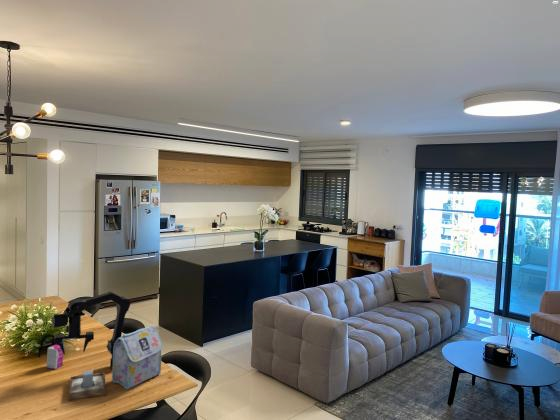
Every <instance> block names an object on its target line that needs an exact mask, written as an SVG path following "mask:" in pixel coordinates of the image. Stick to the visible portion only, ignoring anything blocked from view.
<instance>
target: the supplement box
mask: <svg viewBox="0 0 560 420" xmlns="http://www.w3.org/2000/svg"><path fill="white" fill-rule="evenodd" d="M46 354H47V355H46V369H49V370H54V371H55V370H57V369H58V368H61V367H62V366H64V365H63V363H64V354H63V351H62V349H61V347H60V346H59V345H57V344H54V345H51V346H49V347H48V348H47V353H46Z"/></svg>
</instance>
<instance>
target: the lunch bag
mask: <svg viewBox="0 0 560 420" xmlns="http://www.w3.org/2000/svg"><path fill="white" fill-rule="evenodd" d="M162 349H163V342H162V339H161V337H160V335H159V333H158V329H157V327H156V326H155V325H152V326H148V327H146V326H145V327H143V328H139V329H137V330H136V331H133V332H130V333H129V332H128V333H122V335H121V337H120V338H118V339H117V340H116V342H115V343H114V348H113V367H112V369H111V371H112V372H111V373H112V374H111V377H112V380H111V381H112V383H116V384H120V385H121V387H123V388H124V389H126V390H129V389H131V388H134V387H135V386H137V385H139V384H141V383H143V382H146V381H147V380H149V379H152V378H154V377H156V376H158V375H161V372H162Z"/></svg>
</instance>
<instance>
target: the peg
mask: <svg viewBox="0 0 560 420" xmlns="http://www.w3.org/2000/svg"><path fill="white" fill-rule="evenodd" d="M93 374H94V370H93V369H91V370H85V371H82V375H83V388H86V387H93Z"/></svg>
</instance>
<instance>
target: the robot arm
mask: <svg viewBox="0 0 560 420" xmlns="http://www.w3.org/2000/svg"><path fill="white" fill-rule="evenodd" d="M108 301H112V302H114V303H115V305H116V306H115V307H116V317H115V322H114V327H113V332H112V336H111V339H109V340H108V339H107V345H106V349H107V351H108V352H109V354H110V355H111V358H110V366H109V367H110V369H111V370H112V367H113V348H114V343H115V342H116V340H117V339H118V338H120V337H122V336H123V329H124V323H125V319H126V314H127V313H128V311H129V309H130V306H131V301H130V300H129V299H128V298H127V297H126V296H124V295H123V296H120V295H118V294H116V293H115V292H113V291H108V292H106V293H101V294H98V295H94V296H91V297H88V298H77V299H71V300H70V301H69V303H68V304H67V307H66V308H65V309H64V311H63V313H54V314H53V316H52V319H51V326H52V328H53V329H57V328H63V327H65V332H66V333H67V335H64V334H62V333H61V334H55V336H54V338H53V344H54V345H59V346H60V347H61V349H62V351H63V356H64V355H65V354H66V349H65V341H68V340H69V341H70V340H71V341H72V340H79V339H84V343H83V349H82V351H83V352H82V353H85V351H86V348H87V347H88V344H89V343H90V342H92V341H93V340H94V339H95V333H94V331H86V332H85V334H81V333H82V331H81V330H82V329H81V326H82V325H81V323H82V322H81V321H82V319H81V318H82V316H85V315H86V313H85V312H84V310H86V309H88V308H89V307H92V306H96V305H99V304H102V303H106V302H108Z"/></svg>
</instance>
